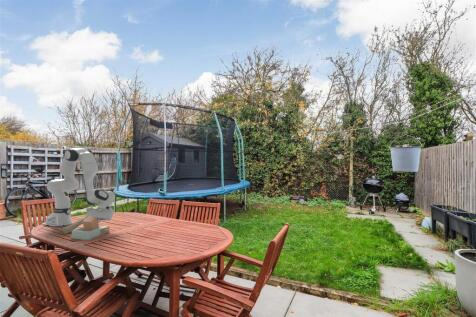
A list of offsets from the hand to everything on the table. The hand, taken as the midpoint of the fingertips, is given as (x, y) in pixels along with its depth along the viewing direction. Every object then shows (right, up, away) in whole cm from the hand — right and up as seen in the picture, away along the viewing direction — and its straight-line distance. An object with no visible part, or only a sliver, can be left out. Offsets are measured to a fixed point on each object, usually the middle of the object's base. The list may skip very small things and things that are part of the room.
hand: (94, 224), depth 223 cm
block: (0, -3, -3) cm, 5 cm away
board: (0, -7, +2) cm, 8 cm away
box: (-2, -7, -9) cm, 12 cm away
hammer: (-18, -7, +12) cm, 23 cm away
